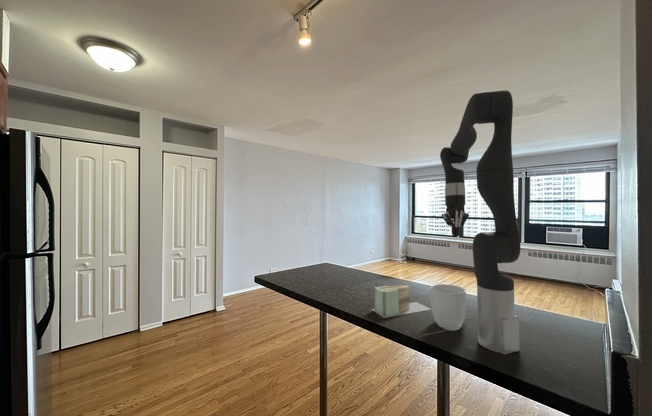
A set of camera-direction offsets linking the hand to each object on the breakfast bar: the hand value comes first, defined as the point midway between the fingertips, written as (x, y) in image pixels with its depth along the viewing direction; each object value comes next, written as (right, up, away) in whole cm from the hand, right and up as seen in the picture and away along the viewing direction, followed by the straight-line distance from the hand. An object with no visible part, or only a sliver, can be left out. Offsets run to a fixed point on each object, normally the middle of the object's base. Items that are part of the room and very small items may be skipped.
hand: (455, 236), depth 109 cm
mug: (-11, -29, -18) cm, 36 cm away
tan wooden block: (-27, -29, -5) cm, 40 cm away
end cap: (-30, -29, -6) cm, 42 cm away
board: (-24, -29, -4) cm, 38 cm away
